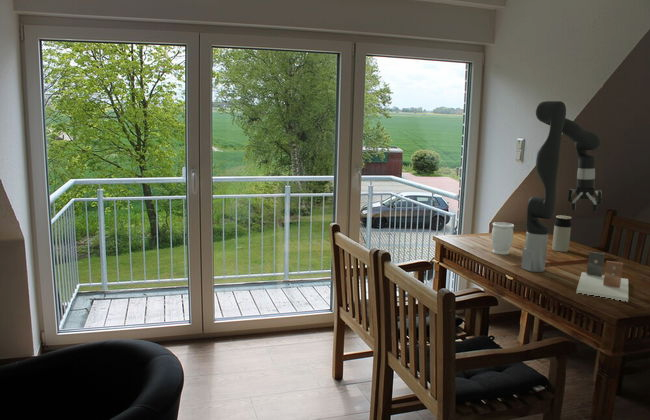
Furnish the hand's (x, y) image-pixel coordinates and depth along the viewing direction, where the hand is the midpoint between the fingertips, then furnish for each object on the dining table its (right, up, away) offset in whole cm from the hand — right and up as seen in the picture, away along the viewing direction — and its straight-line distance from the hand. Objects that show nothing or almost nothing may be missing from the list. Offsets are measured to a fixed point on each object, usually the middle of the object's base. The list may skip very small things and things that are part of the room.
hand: (584, 211), depth 256 cm
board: (-9, -31, -34) cm, 47 cm away
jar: (-34, -21, +18) cm, 44 cm away
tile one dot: (-7, -28, -23) cm, 37 cm away
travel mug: (0, -21, +27) cm, 34 cm away
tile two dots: (-7, -31, -38) cm, 49 cm away
